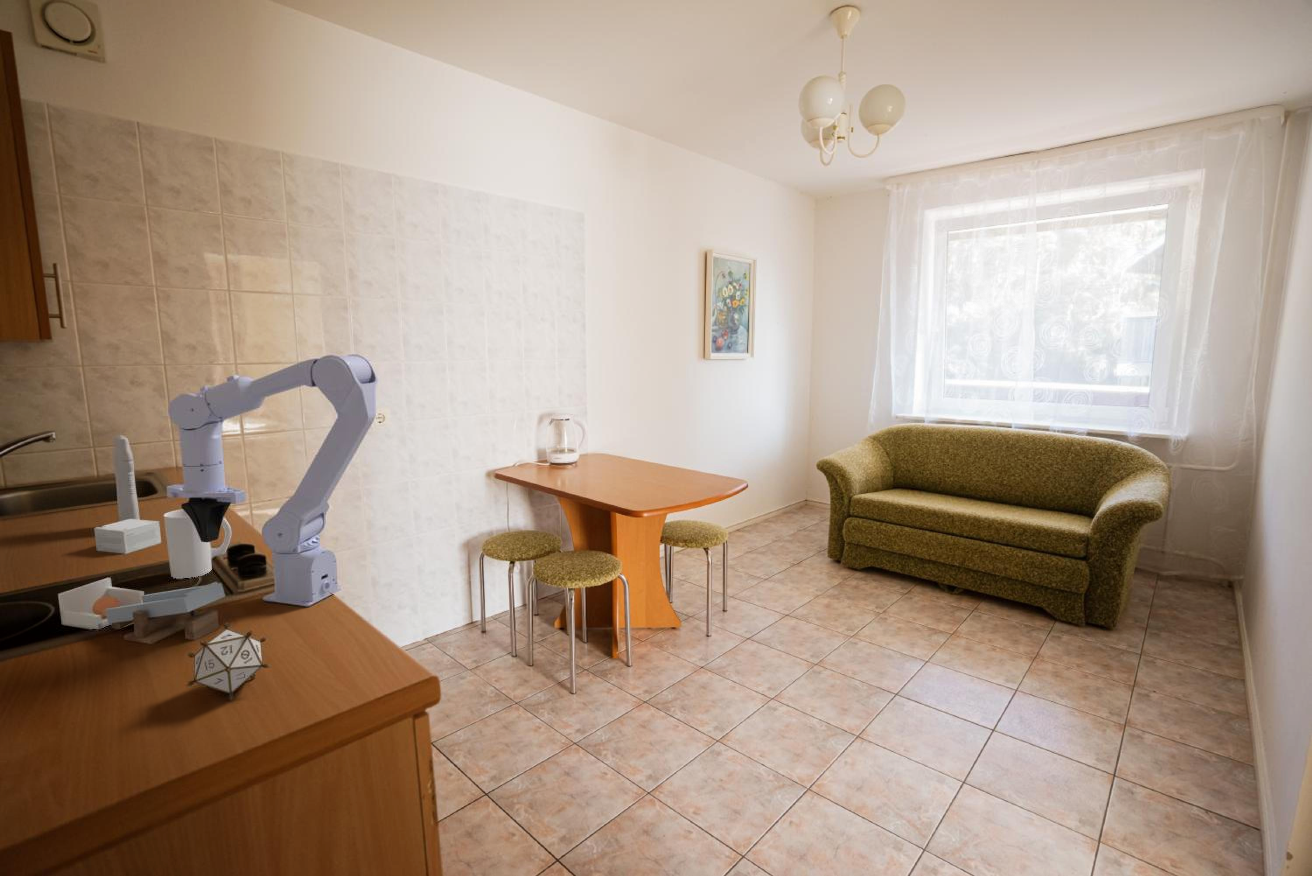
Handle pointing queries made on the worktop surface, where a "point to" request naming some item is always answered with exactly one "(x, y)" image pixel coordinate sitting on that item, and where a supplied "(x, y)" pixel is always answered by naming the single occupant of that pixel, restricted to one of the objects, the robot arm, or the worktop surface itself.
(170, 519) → the mug
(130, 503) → the tall pale column
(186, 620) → the fulcrum
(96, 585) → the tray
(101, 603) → the ball
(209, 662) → the game die
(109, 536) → the small box
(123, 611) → the lever
